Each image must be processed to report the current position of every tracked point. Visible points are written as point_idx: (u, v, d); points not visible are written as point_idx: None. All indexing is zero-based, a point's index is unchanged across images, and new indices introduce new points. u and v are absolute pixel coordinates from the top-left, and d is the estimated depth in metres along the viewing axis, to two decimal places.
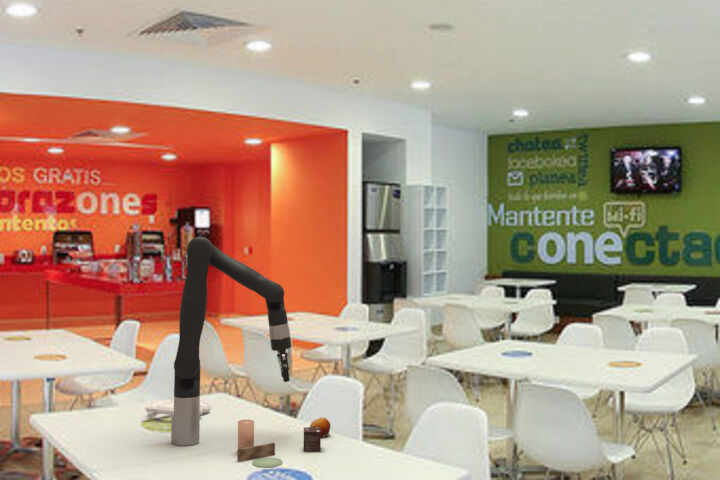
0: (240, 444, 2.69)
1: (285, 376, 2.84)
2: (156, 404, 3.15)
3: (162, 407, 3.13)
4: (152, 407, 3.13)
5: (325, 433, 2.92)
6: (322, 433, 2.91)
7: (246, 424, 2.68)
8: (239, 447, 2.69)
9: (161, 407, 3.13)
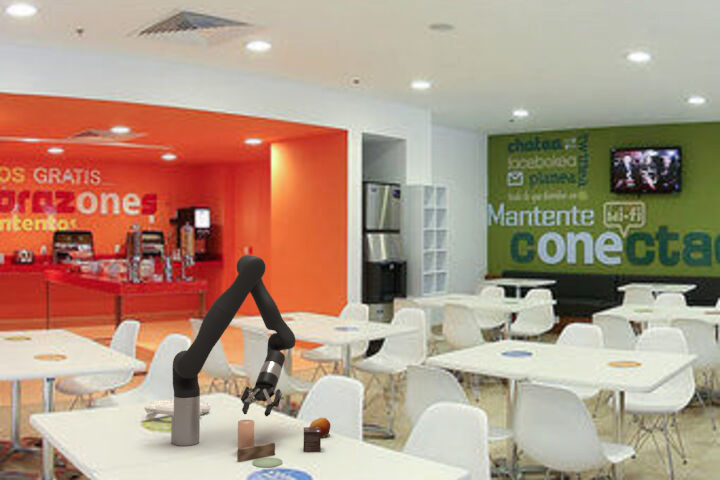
0: (240, 444, 2.69)
1: (270, 410, 2.77)
2: (155, 404, 3.15)
3: (161, 407, 3.13)
4: (151, 407, 3.13)
5: (325, 433, 2.92)
6: (322, 433, 2.91)
7: (246, 424, 2.68)
8: (239, 447, 2.69)
9: (160, 407, 3.13)
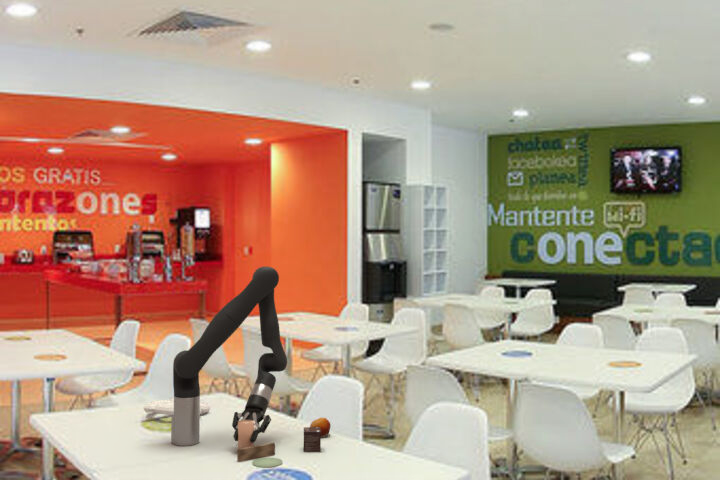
0: (240, 444, 2.69)
1: (256, 436, 2.69)
2: (155, 404, 3.15)
3: (160, 407, 3.13)
4: (150, 407, 3.13)
5: (325, 433, 2.92)
6: (322, 433, 2.91)
7: (246, 424, 2.68)
8: (239, 447, 2.69)
9: (159, 407, 3.13)
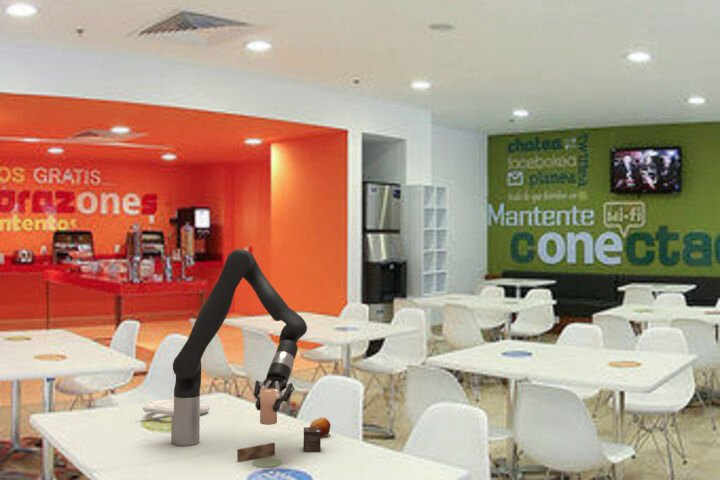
0: (262, 413, 2.58)
1: (279, 404, 2.58)
2: (153, 404, 3.15)
3: (159, 407, 3.13)
4: (149, 407, 3.13)
5: (325, 433, 2.92)
6: (322, 433, 2.91)
7: (269, 392, 2.57)
8: (262, 416, 2.58)
9: (158, 407, 3.13)
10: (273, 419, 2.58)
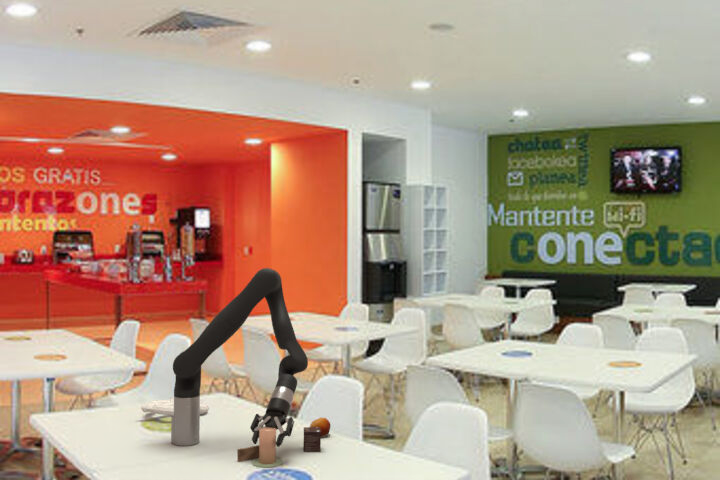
0: (261, 452, 2.58)
1: (281, 439, 2.58)
2: (152, 404, 3.15)
3: (158, 407, 3.13)
4: (148, 407, 3.13)
5: (325, 433, 2.92)
6: (322, 433, 2.91)
7: (268, 432, 2.57)
8: (260, 456, 2.58)
9: (157, 407, 3.13)
10: (272, 458, 2.58)
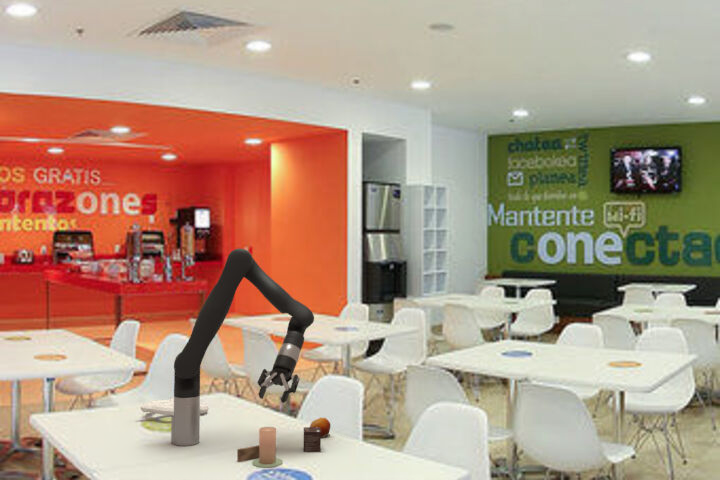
0: (261, 452, 2.58)
1: (286, 396, 2.69)
2: (152, 404, 3.15)
3: (157, 407, 3.13)
4: (147, 407, 3.13)
5: (325, 433, 2.92)
6: (322, 433, 2.91)
7: (268, 432, 2.57)
8: (260, 456, 2.58)
9: (156, 407, 3.13)
10: (272, 458, 2.58)
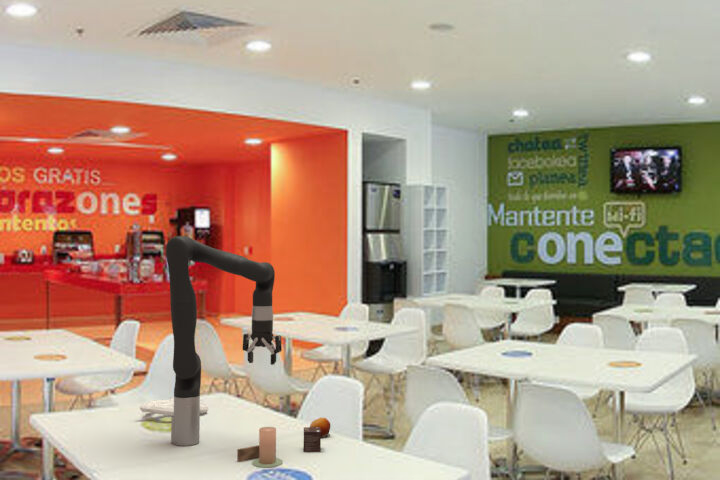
0: (261, 452, 2.58)
1: (275, 358, 2.76)
2: (151, 404, 3.15)
3: (156, 407, 3.13)
4: (147, 407, 3.13)
5: (325, 433, 2.92)
6: (322, 433, 2.91)
7: (268, 432, 2.57)
8: (260, 456, 2.58)
9: (155, 407, 3.13)
10: (272, 458, 2.58)
